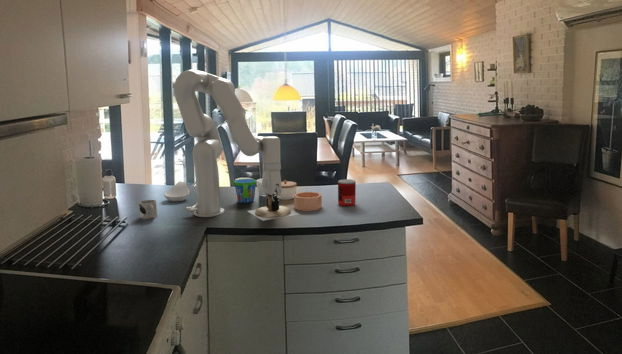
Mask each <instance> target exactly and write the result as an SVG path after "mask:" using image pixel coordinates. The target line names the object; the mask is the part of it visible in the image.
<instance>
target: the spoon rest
mask: <svg viewBox="0 0 622 354" xmlns="http://www.w3.org/2000/svg"><path fill="white" fill-rule="evenodd" d="M190 187H191V186H190V185H189V183H188V181H181V180H180V181H178V182H177V183H175V184H174V185H173V186H172V187H171V188H169V189H168V190H167V191H165V193H163V196H164V198H165V199H167V200H168V201H170V202H175V203H178V202H183V201H185V200H186V199H187V198H188V197H189V196H190V193H191V188H190Z"/></svg>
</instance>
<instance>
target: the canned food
mask: <svg viewBox="0 0 622 354" xmlns="http://www.w3.org/2000/svg"><path fill="white" fill-rule="evenodd" d="M356 186H357V185H356V180H355V179H351V178H349V179H347V178H345V179H339V180H338V181H337V202H338V206H341V207H353V206H355V205H356V194H357V193H356Z"/></svg>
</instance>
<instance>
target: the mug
mask: <svg viewBox="0 0 622 354" xmlns="http://www.w3.org/2000/svg"><path fill="white" fill-rule="evenodd" d="M138 206H139V217H140V219H141V220H152V219H156V218H158V210H157V201H156V200H155V199H145V200H141V201H139V202H138Z"/></svg>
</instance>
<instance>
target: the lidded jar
mask: <svg viewBox="0 0 622 354" xmlns="http://www.w3.org/2000/svg"><path fill="white" fill-rule="evenodd" d="M297 185H298V184H297V182H295V181H287V180H286V179H284V180H283V181H281V197H280V198H279V200H282V201H289V200H293V198H294V194H296V193H297V187H298V186H297ZM274 194H276V192H275V193H274Z"/></svg>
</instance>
